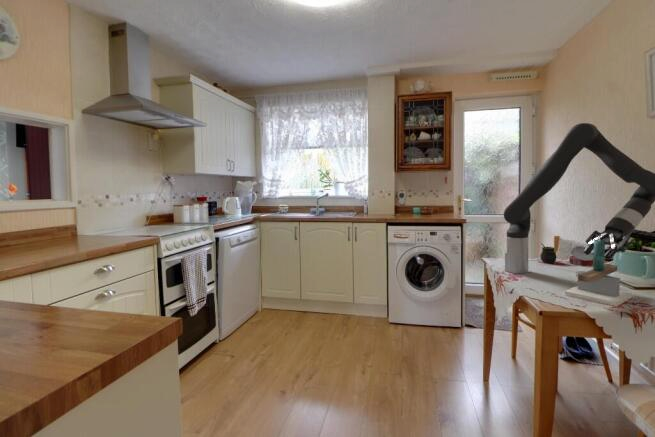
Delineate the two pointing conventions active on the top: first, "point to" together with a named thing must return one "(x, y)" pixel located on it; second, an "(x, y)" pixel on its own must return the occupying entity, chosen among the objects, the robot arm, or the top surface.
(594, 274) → the teal peg on base
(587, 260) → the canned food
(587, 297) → the ridge stand
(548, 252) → the mate gourd
